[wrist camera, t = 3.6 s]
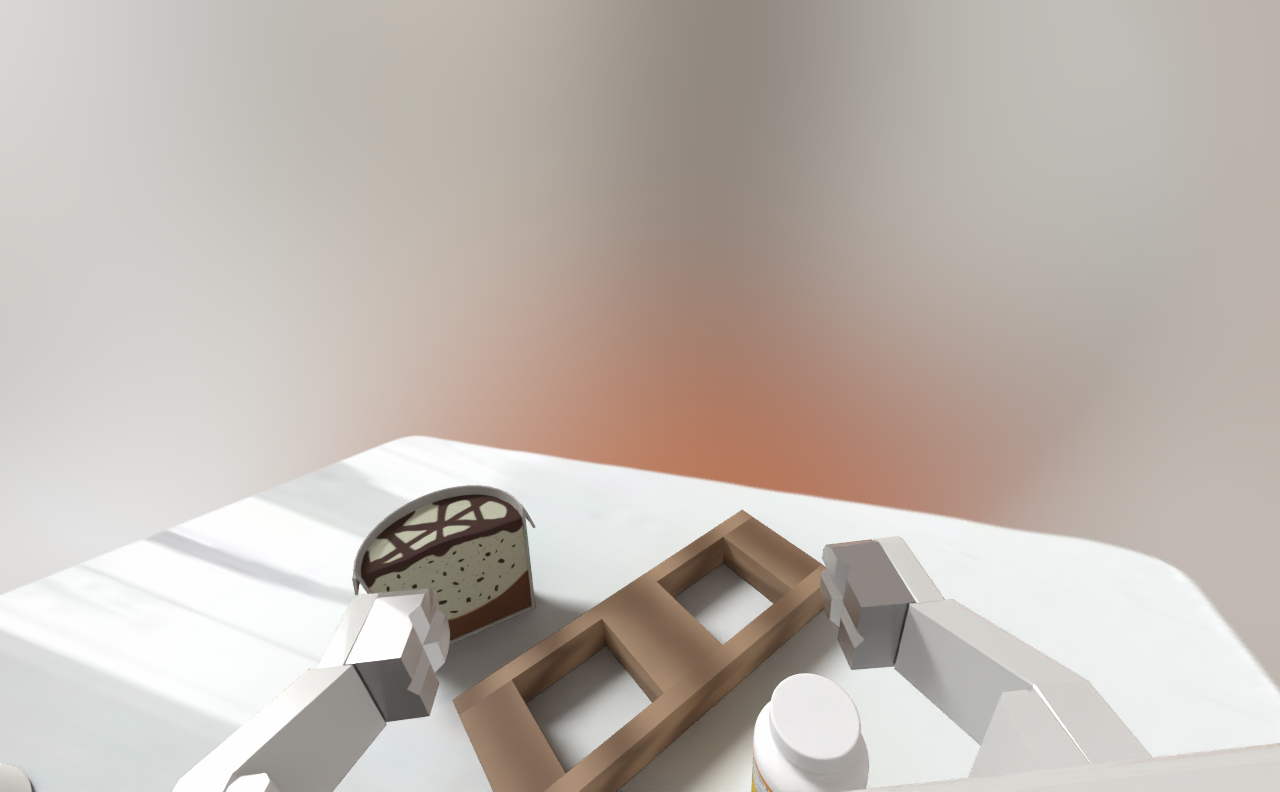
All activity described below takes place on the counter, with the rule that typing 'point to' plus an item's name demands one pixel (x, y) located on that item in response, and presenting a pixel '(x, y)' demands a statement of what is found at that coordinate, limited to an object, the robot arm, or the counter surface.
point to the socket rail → (643, 661)
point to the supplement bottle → (809, 739)
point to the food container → (454, 556)
